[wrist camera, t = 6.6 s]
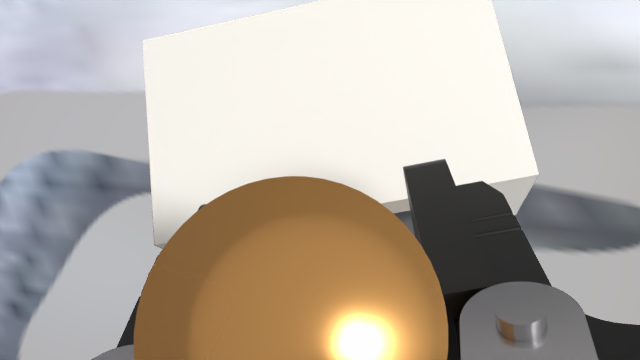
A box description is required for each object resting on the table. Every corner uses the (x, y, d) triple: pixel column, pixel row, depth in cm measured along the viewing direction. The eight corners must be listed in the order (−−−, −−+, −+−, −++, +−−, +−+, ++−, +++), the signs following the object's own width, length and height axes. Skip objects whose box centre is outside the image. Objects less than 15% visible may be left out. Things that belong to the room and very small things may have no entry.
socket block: (458, 134, 23) (481, -36, 14) (488, 261, 22) (538, 174, 12) (257, 172, 24) (142, 40, 14) (272, 298, 23) (154, 244, 13)
